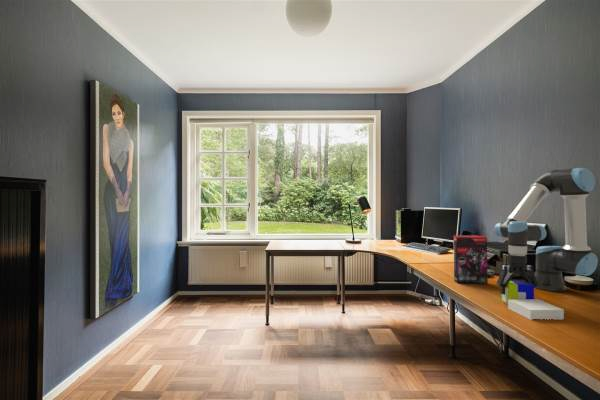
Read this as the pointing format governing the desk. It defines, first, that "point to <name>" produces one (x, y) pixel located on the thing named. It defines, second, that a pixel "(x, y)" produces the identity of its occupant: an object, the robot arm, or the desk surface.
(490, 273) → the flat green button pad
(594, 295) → the desk surface
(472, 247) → the graphics card box
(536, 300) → the plinth
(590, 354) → the desk surface
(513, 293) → the puzzle toy
